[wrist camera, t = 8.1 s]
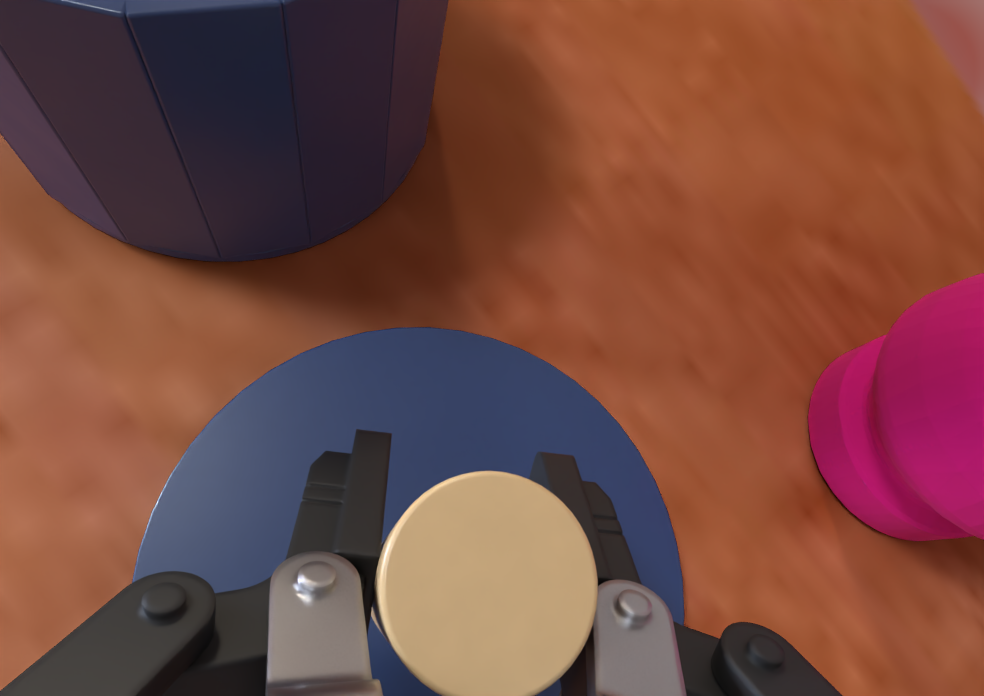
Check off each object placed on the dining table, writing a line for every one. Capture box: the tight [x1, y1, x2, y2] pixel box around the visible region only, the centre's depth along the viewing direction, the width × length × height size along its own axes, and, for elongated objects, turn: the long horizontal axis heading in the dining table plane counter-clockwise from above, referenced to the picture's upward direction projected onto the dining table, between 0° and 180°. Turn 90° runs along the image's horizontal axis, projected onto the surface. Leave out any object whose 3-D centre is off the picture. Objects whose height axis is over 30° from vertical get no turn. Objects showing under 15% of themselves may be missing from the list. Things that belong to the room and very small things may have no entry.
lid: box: [132, 327, 684, 696], centre depth 14 cm, size 14×14×10 cm
